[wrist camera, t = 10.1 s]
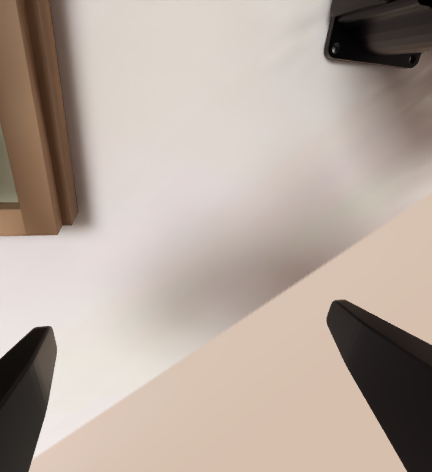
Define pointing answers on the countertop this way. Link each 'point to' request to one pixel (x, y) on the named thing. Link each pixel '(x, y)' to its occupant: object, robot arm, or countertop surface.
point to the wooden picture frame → (32, 125)
